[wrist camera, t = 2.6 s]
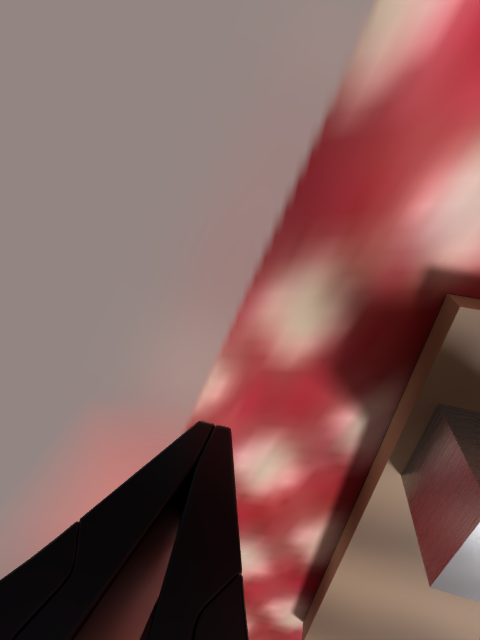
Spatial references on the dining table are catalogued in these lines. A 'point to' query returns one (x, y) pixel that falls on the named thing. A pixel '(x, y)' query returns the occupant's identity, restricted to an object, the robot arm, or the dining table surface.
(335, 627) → the board
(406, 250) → the dining table surface
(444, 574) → the grey piece
